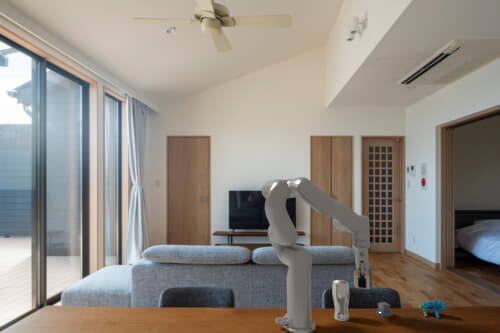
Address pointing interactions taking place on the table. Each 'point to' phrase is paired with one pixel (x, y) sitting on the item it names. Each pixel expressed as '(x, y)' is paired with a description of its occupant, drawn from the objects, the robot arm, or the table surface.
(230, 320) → the table surface
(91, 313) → the table surface
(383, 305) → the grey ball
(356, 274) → the wooden tan cube
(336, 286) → the beer glass
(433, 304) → the blue lumpy figure
